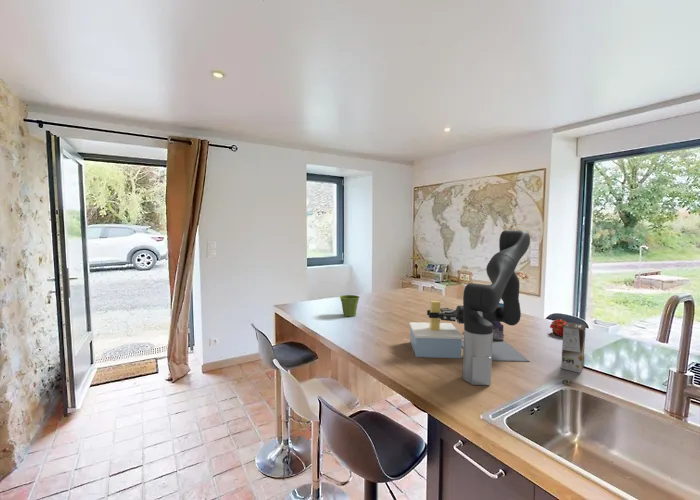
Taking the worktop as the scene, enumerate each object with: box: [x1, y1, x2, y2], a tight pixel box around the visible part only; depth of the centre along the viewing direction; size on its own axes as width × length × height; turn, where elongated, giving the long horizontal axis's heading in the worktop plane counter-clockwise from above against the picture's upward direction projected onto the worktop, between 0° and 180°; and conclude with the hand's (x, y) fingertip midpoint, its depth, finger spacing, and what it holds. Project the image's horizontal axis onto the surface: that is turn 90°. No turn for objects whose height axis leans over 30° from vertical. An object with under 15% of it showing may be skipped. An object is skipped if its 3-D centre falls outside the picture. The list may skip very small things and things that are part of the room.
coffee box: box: [560, 321, 587, 373], centre depth 127 cm, size 9×6×16 cm
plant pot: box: [339, 294, 361, 318], centre depth 199 cm, size 12×12×11 cm
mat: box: [461, 340, 530, 363], centre depth 144 cm, size 22×22×1 cm
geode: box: [492, 322, 505, 342], centre depth 166 cm, size 20×12×10 cm, turn 22°
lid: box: [408, 299, 464, 340], centre depth 144 cm, size 19×19×13 cm
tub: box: [409, 328, 463, 359], centre depth 145 cm, size 18×18×8 cm
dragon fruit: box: [549, 318, 568, 338], centre depth 166 cm, size 8×8×12 cm
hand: (428, 313), depth 144 cm, fingers closed on lid, 3 cm apart
